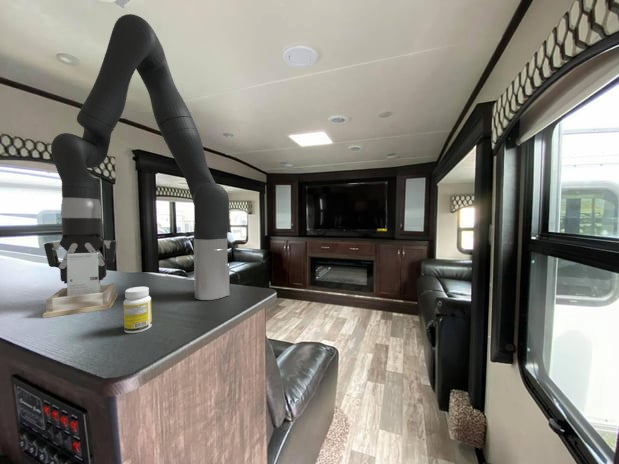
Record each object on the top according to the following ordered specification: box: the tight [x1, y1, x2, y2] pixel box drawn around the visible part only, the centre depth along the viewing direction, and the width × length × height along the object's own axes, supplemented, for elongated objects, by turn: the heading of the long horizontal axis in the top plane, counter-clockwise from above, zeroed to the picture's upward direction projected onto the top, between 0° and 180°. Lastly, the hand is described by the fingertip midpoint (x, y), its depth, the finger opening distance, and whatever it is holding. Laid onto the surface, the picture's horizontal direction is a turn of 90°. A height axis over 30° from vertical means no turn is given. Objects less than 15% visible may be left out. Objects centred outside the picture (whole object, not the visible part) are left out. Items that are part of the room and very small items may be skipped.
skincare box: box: [66, 251, 101, 296], centre depth 63 cm, size 6×4×12 cm
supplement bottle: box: [122, 286, 153, 334], centre depth 51 cm, size 5×5×8 cm
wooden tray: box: [42, 282, 118, 319], centre depth 64 cm, size 12×12×4 cm
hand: (84, 280), depth 64 cm, fingers closed on skincare box, 6 cm apart
